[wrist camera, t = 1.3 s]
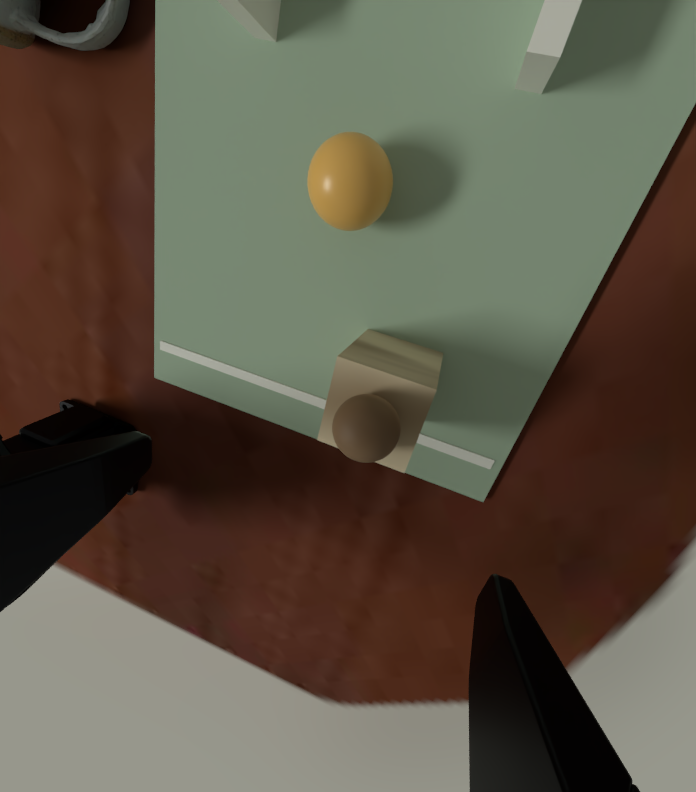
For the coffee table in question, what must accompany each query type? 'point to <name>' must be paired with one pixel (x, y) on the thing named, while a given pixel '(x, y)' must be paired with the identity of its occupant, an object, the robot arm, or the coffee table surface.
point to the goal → (259, 15)
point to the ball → (350, 181)
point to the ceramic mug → (18, 24)
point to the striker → (380, 399)
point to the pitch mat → (402, 199)
